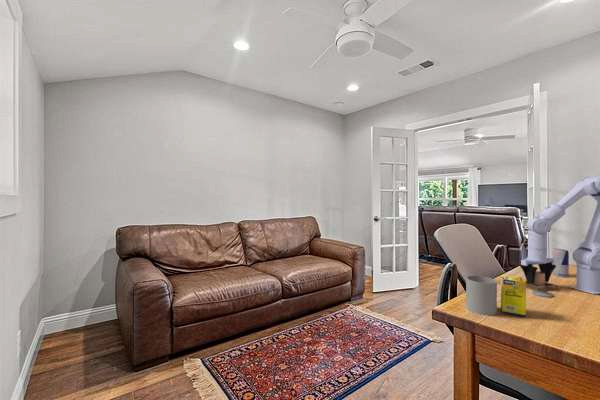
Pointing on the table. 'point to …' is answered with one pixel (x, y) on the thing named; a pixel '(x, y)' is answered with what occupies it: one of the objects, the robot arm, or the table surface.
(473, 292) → the cup
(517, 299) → the supplement box
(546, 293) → the glossy gray dome
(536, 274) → the clay pot
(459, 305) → the table surface
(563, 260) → the energy drink
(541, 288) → the frame
